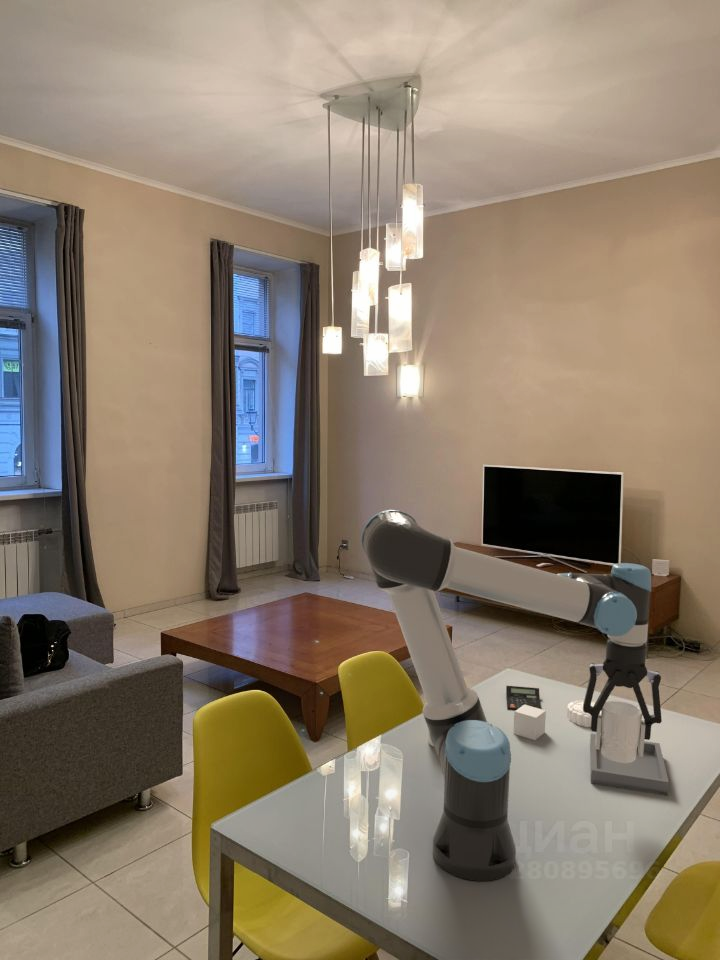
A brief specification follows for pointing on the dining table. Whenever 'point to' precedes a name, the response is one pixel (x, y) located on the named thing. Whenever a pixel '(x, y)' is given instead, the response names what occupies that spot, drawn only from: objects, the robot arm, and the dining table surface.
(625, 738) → the white cup
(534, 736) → the white cube
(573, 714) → the mooncake
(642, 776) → the tray
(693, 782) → the dining table surface
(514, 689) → the calculator
